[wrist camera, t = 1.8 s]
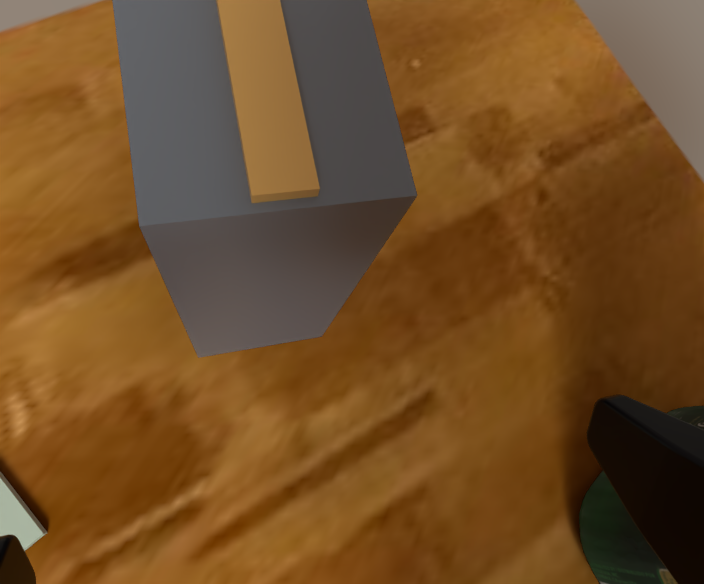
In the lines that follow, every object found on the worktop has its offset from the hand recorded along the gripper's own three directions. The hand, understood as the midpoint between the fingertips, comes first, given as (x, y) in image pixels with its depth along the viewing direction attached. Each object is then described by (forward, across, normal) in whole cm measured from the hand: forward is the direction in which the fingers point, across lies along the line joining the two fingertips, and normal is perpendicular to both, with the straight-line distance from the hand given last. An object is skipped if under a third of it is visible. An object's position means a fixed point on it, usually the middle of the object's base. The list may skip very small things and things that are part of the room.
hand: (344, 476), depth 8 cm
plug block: (+14, 0, +4) cm, 15 cm away
